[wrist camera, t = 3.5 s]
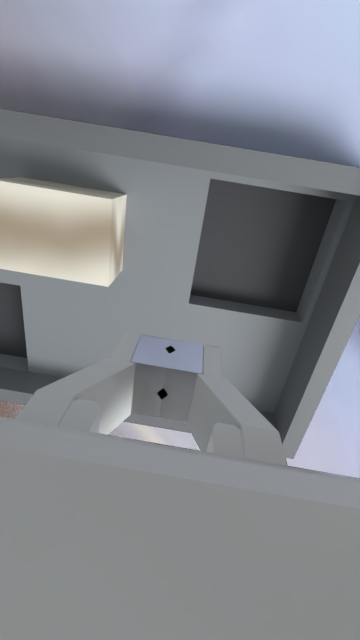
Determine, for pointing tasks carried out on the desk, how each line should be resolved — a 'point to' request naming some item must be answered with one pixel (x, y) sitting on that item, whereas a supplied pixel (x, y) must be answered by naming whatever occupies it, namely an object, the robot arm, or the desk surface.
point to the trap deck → (192, 264)
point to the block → (61, 230)
